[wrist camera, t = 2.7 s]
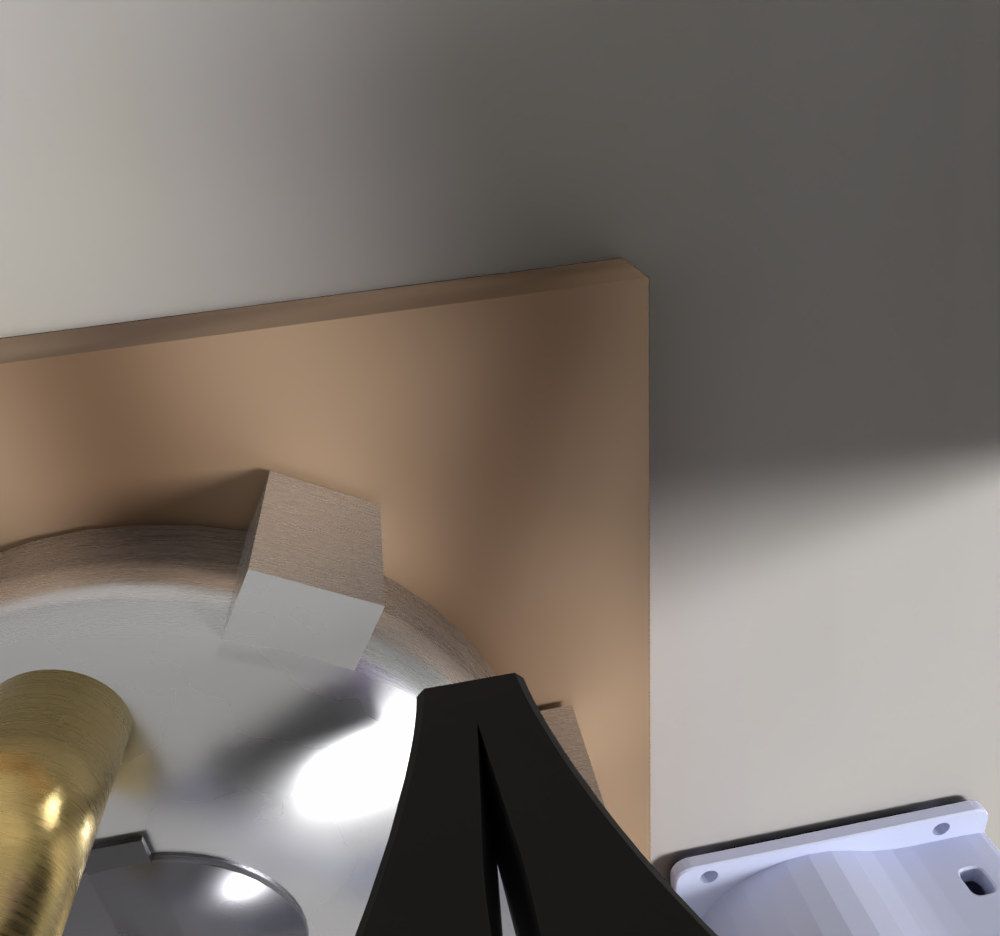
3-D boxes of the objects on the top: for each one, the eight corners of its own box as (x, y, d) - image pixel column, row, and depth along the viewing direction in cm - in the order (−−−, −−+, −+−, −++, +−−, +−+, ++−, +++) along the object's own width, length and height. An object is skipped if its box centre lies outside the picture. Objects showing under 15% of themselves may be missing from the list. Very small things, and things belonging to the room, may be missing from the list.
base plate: (622, 258, 15) (652, 281, 13) (634, 925, 24) (653, 982, 23) (-589, 414, 13) (-714, 462, 11) (-65, 1072, 22) (-96, 1145, 21)
